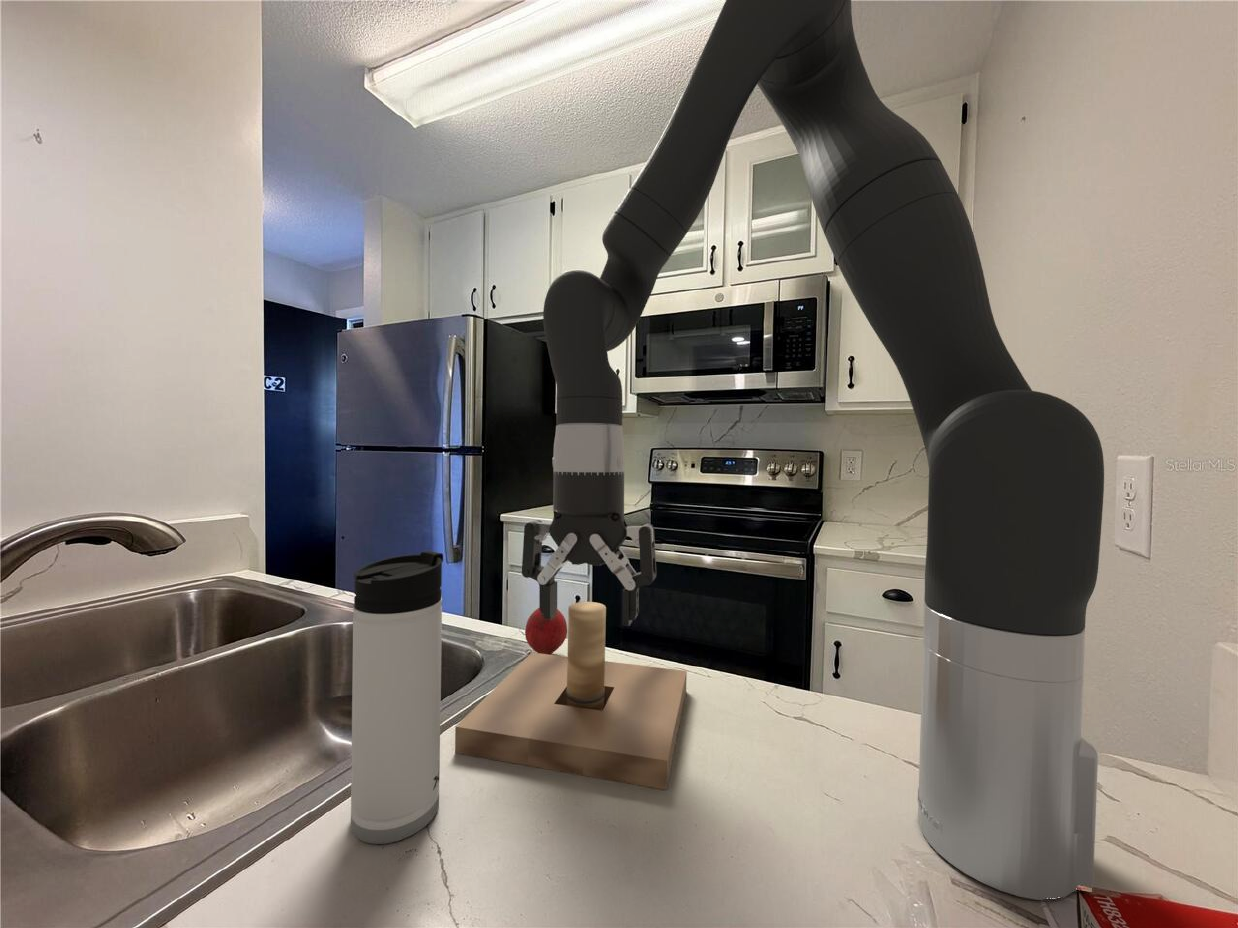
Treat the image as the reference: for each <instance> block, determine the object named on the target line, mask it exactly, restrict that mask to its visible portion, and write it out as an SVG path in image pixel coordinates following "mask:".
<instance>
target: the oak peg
mask: <svg viewBox="0 0 1238 928" xmlns="http://www.w3.org/2000/svg"><path fill="white" fill-rule="evenodd" d="M567 613H568V615H567V617H568V619H567V622H568V623H567V656H566V657H567V689H566V696H567V706H572V707H579V708H586V709H593V710H601V711H603V709H604V708H603V707H604V696H605V688H604V677H605V661H606V628H607V627H606V626H607V625H606V621H607V619H606V618H607V617H606V616H607V607H606V605H605V604H603V603H600V602H594V601H580V602H574V603H571V604H570V605H568V611H567Z"/></svg>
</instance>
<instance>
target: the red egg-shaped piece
mask: <svg viewBox="0 0 1238 928" xmlns="http://www.w3.org/2000/svg"><path fill="white" fill-rule="evenodd" d="M524 634H525V635H524V636H525V640H526V642H527V645H528V646H529V647H530V648H532V649H531V650H533V651H534V653H540V654H548V655H553V653H555V652H556V651H557V650H559V649H560V647H561V646H562V645H563V644H564V642H565V640H566V639H567V637H568V623H567V620H566V617H565V616H564V614H563V613H562V611H560V610H559V609H558V608H557V615H556V616H555V617H554V618H553V619H552V620H548V619H544V614H543V613H541V612H540V609H539V607H538V608H537V609H535V610H534V611H532V612H531V614H530V615H529V617H528V619H527V622H526V625H525V631H524Z"/></svg>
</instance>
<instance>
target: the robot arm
mask: <svg viewBox="0 0 1238 928" xmlns="http://www.w3.org/2000/svg"><path fill="white" fill-rule="evenodd" d="M852 9H853V7H852V0H725V1H724V2H723V6H722V8H721V10H720V12H719V14H718V17H717V19H716V21H715V23H714V24H713V27H712V30H711V32H710V34H709V36H708V38H707V40H706V42H705V44H704V47H703V49H702V51H701V53H700V55H699V56H698V59H697V61H696V64H695V66H694V67H693V69H692V72H691V74H690V76H689V78H688V81H687V83H686V85H685V87H684V89H683V92H682V93H681V95H680V97H679V100H678V102H677V104H676V106H675V108H674V111H673V112H672V115H671V117H670V118H669V121H668V123H667V125H666V127H665V129H664V130H663V132H662V134H661V136H660V137H659V140H658V142H657V143H656V145H655V147H654V149H653V150H652V152H651V154H650V156H649V157H648V159H647V161H646V162H645V164H644V166H643V167H642V169H641V170H640V172H639V173H638V175H637V177H636V178H635V180H634V181H633V183H631V186H630V188H629V189H628V190H627V191H626V194H625V195H624V197H623V198H622V200H621V202H620V203H619V205H618V206H617V207H616V209H615V211H614V213H613V214H612V215H611V217H610V219H609V220H608V222H607V224H606V226H605V228H604V229H603V232H602V237H601V239H602V244H603V247H604V249H605V251H606V254H607V260H606V263H605V265H604V268H603V270H602V273H601V274H600V276H599V277H598V276H597V275H595V273H592V272H589V271H587V270H586V269H580V268H579V269H577V268H573V269H568V270H566V271H563V272H562V273H560V274H559V275H558V276H557V277H556V278H554V280H553V282H552V283H551V284H550V286H549V288H548V290H547V292H546V295H545V299H544V303H543V312H542V314H543V315H542V319H543V330H544V336H545V340H546V347H547V350H548V351H547V352H548V355H549V360H550V366H551V369H552V373H553V377H554V379H555V380H554V381H555V383H556V384H555V385H556V395H555V396H556V397H555V399H556V402H555V403H556V408H555V409H556V411H555V412H556V414H555V415H556V418H555V419H556V420H555V421H556V422H555V423H556V425H555V436H554V442H553V457H552V464H551V465H552V468H553V481H552V485H553V487H552V488H553V489H552V490H553V491H552V492H553V494H552V495H553V499H552V500H553V503H552V504H553V505H552V508H553V509H552V511H553V518H552V521H551V522H543V521H542V520H540V519H536V520H532V521H530V522H529V521H528V522H527V523H525V525H524V529H523V545H522V548H523V549H522V559H521V560H522V561H521V574H522V577H524V578H525V579H528V578H530V579H532V580H535V581H536V582H537V583H538V585H539V587H538V589H539V594H538V596H539V598H538V599H539V604H538V605H539V606H538V608H539V609H540V612H541V613H543V614H544V619H548V620H552V619H553V618H554V617H555V616H556V615H557V609H558V580H555V578H556V577H557V576H558V574H559V572H561V570H562V569H563V567H564V566H565V565H566V564H567V563H568V562H569V563H571V565H574V566H575V565H576V566H577V565H584V564H587V565H590V566H595V567H601V566H602V565H604V564H605V565H607V568H608V569H609V570H610V572H611V573H612V574H614V575H615V576H616V577H617V579H618V580H619V582H620V583H621V584H622V586H623V587H624V588H623V589H622V590H621V591H622V593H621V594H622V596H621V600H622V601H621V604H622V605H621V606H622V607H621V611H622V612H621V613H622V615H621V621H622V622H621V624H622V626H626V627H630V626H631V624H632V623H633V621H635V620H636V618H637V617H638V614H639V611H640V609H639V607H640V606H639V605H640V601H639V599H640V596H639V594H640V588H641V587H644V586H650V585H651V584H653V582H654V581H655V579H656V578H657V558H656V543H655V542H656V541H655V540H656V539H655V538H656V537H655V527H654V525H653V524H651V523H646V524H644V525H628V524H627V523H626V519H625V442H624V434H623V388H622V387H623V386H622V381H621V378H620V376H619V375H618V374H617V372H616V371H615V370H614V369H613V368H612V366H611V364H610V361H609V356H608V352H611V351H613V350H614V349H616V348H618V347H619V346H620V345H622V344H623V343H624V342H625V341H626V340H627V339H628V338H629V336H630V335H631V334H632V332H633V331H634V330H635V328H636V326H637V324H638V323H639V321H640V319H641V317H642V314H644V313H643V312H644V310H645V308H646V306H647V303H648V301H649V299H650V298H651V294H652V293H653V289H654V288H655V285H656V281H657V279H658V276H659V274H660V272H661V270H662V269H663V267H664V266H665V265H666V263H667V262H668V261H669V259H670V257H672V256H673V254H674V252H675V251H676V250H677V248H678V247H679V245H680V244H681V243H682V241H683V239H684V238H685V236H686V235H687V234H688V233H689V231H690V229H691V228H692V227H693V225H694V223H695V222H696V220H697V218H698V216H699V215H700V214H701V211H702V210H703V208H704V206H705V204H706V201H707V199H708V196H709V194H710V192H711V190H712V187H713V185H714V183H715V180H716V177H717V175H718V172H719V169H720V167H721V164H722V160H723V157H724V155H725V152H726V151H727V146H728V144H729V142H730V139H731V137H732V135H733V132H734V129H735V127H736V124H737V122H738V120H739V118H740V116H741V114H742V112H743V110H744V108H745V106H746V104H747V102H748V101H749V99H750V97H751V95H752V93H754V90H755V88H756V86H757V87H758V88H759V90H760V91H761V93H762V94H763V96H764V97H765V98H766V100H767V102H768V103H769V105H770V107H771V108H772V110H773V111H774V112H775V114H776V116H777V118H778V120H779V121H780V122H781V124H782V126H783V127H784V129H785V130H786V133H788V136H789V138H790V139H791V141H792V143H793V145H794V148H795V149H796V151H797V154H798V156H799V160H800V162H801V165H802V169H803V173H804V178H805V180H806V181H805V182H806V184H807V189H808V191H809V195H810V198H811V202H812V204H813V207H814V209H815V212H816V215H817V218H818V220H819V224H820V226H821V229H822V231H823V235H824V237H825V239H826V241H827V244H828V246H829V248H830V250H831V253H832V255H833V258H834V259H835V262H836V263H837V266H838V267H839V270H840V272H841V274H842V276H843V279H845V280H844V281H845V282H846V283H847V285H848V288H849V290H850V292H851V293H852V295H853V297H854V298H855V301H856V303H857V304H858V306H859V308H860V309H861V311H862V314H863V315H864V317H865V318H866V319H867V322H869V324H870V326H871V328H872V330H873V331H874V333H875V334H876V336H877V337H878V339H879V341H880V343H881V345H883V347H884V348H885V350H886V351H887V354H888V355H889V357H890V359H892V361H893V363H894V365H895V367H896V369H897V371H898V374H899V375H900V377H901V379H902V382H903V385H904V388H905V390H906V393H907V395H908V398H909V400H910V404H911V407H912V410H913V413H914V416H915V419H916V422H917V426H918V428H919V433H920V436H921V438H922V442H923V443H922V444H923V446H924V450H925V453H926V454H925V455H926V459H927V465H928V492H927V493H928V495H927V497H928V498H927V528H926V529H927V532H926V533H927V535H926V537H927V538H926V551H925V553H926V554H925V570H924V596H923V597H924V604H923V633H922V640H923V641H922V663H921V664H922V665H921V666H922V667H921V670H922V671H921V695H920V696H921V699H920V700H921V701H920V702H921V703H920V726H919V727H920V729H919V730H920V732H919V733H920V736H919V761H918V763H919V764H918V767H919V768H918V769H919V770H918V787H917V824H918V827H919V829H920V832H921V834H922V835H923V837H924V839H925V840H926V841H927V843H928V844H929V845H930V846H931V847H932V848H933V850H934V851H935V852H936V853H937V854H939V855H940V856H941V857H942V858H944V859H945V860H946V861H947V862H948V863H949V864H950V865H952V866H954V867H955V868H956V869H958V870H960V871H961V872H962V873H964V874H966V875H967V876H969V877H971V878H973V879H975V880H976V881H978V882H980V883H982V884H985V885H986V886H988V887H992V888H994V889H996V890H998V891H1000V892H1004V893H1007V894H1009V895H1012V896H1013V895H1014V896H1016V897H1020V898H1024V899H1029V900H1030V899H1031V900H1036V901H1044V900H1043V899H1047V898H1048V899H1050V898H1051V899H1052V898H1058V897H1060V899H1064V898H1065V897H1067V896H1068V895H1071V894H1072V893H1074V892H1077V891H1076V888H1077V886H1078V885H1081V886H1086V887H1089V888H1093V889H1094V875H1095V874H1094V873H1095V872H1094V871H1095V848H1096V847H1095V845H1096V841H1095V840H1096V825H1097V823H1096V822H1097V821H1096V819H1097V817H1096V816H1097V798H1098V797H1097V795H1098V794H1097V793H1098V792H1097V791H1098V771H1099V770H1098V768H1099V755H1098V752H1097V750H1096V748H1095V747H1094V746H1093V745H1092V744H1091V743H1090V742H1088V741H1087V740H1086V739H1085V738H1083V736H1082V728H1083V726H1082V725H1083V721H1082V720H1083V702H1084V701H1083V698H1084V668H1085V667H1084V664H1085V640H1086V639H1085V637H1086V636H1085V635H1086V630H1085V629H1086V614H1087V608H1088V604H1089V601H1090V599H1091V598H1092V595H1093V593H1094V590H1095V588H1096V585H1097V578H1098V574H1099V565H1100V563H1099V562H1100V550H1101V537H1102V536H1101V535H1102V523H1103V507H1104V494H1105V493H1104V491H1105V461H1104V452H1103V447H1102V443H1101V439H1100V437H1099V435H1098V432H1097V431H1096V428H1095V426H1094V425H1093V424H1092V422H1091V421H1090V419H1088V418H1087V416H1086V415H1085V413H1083V412H1082V411H1081V410H1079V409H1078V408H1077V407H1076V406H1075V405H1073V404H1071V403H1069V402H1067V401H1066V400H1064V399H1062V398H1059V397H1058V396H1054V395H1051V394H1049V393H1045V392H1042V391H1041V392H1040V391H1036V390H1033V389H1032V388H1031V386H1030V385H1029V383H1028V382H1027V380H1026V379H1025V378H1024V375H1023V373H1022V372H1021V370H1020V369H1019V367H1018V366H1017V363H1016V362H1015V360H1014V359H1013V357H1012V356H1011V354H1010V352H1009V351H1008V349H1007V346H1006V345H1005V343H1004V341H1003V339H1002V336H1001V334H1000V332H999V329H998V326H997V325H996V321H995V318H994V314H993V312H992V307H991V303H990V298H989V294H988V289H987V284H986V278H985V274H984V270H983V265H982V262H981V261H982V260H981V257H980V255H979V254H980V253H979V251H978V250H979V249H978V246H977V242H976V238H975V235H974V232H973V227H972V225H971V222H970V219H969V217H968V214H967V212H966V209H965V207H964V204H963V202H962V199H961V197H960V196H959V194H958V192H957V190H956V187H955V186H954V184H953V183H952V180H951V178H950V176H949V174H948V172H947V170H946V168H945V166H944V165H943V162H942V161H941V159H940V158H939V155H938V154H937V152H936V151H935V149H934V148H933V146H932V145H931V143H930V142H929V140H928V139H927V138H926V137H925V136H924V135H923V134H922V133H921V132H920V131H919V130H918V129H917V128H915V126H913V125H912V124H911V123H909V121H906V120H905V119H904V118H902V117H901V116H899V115H898V114H896V113H895V112H894V111H893V110H891V109H890V108H889V107H888V106H886V105H885V103H883V101H882V100H881V99H880V98H879V96H878V95H877V92H876V91H875V89H874V87H873V85H872V83H871V79H870V78H869V76H868V73H867V70H866V68H865V65H864V63H863V60H862V57H861V54H860V51H859V47H858V44H857V41H856V37H855V31H854V27H853V24H854V23H853V17H852V16H853V14H852V13H853V12H852ZM548 535H550V538H552V540H553V542H554V543H555V544H556V547H557V549H556V550H555V551H554V552H553V554H552V556H551V557H550V558H549V559H548V560H547V562H546V565H544V566H543V565H542V553H543V542H544V541H546V540H547V538H548ZM628 537H629V538H631V540H632V543H633V545H634V546H635V547H637V548H639V561H640V562H639V563H640V564H639V565H640V572H637V571H636V570H635V569H634V568H633V565H631V563H630V560H629V558H628V557H627V555H626V554H625V553H624V551H623V550H622V548H621V546H622V545H623V543H624V542H625V541H626V539H627V538H628ZM1061 897H1063V898H1061Z"/></svg>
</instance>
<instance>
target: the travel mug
mask: <svg viewBox="0 0 1238 928" xmlns="http://www.w3.org/2000/svg"><path fill="white" fill-rule="evenodd" d="M443 562H444V555H443V553H441V552H436V551H431V550H427V551H422V552H420V553H419V554H405V555H398V556H392V557H388V558H384V559H383V558H382V559H380V560H377V561H374V562H371V563H368V564H366V565H364V566H361V567H360V568H359V569H357V570H356V571H355V573H354V584H353V585H354V587H353V588H354V589H353V591H354V595H355V596H354V598H353V599H354V600H353V606H352V607H353V608H352V613H353V617H352V618H353V619H352V684H351V685H352V688H351V689H352V691H351V693H352V694H351V695H352V697H351V698H352V699H351V700H352V701H351V706H352V707H351V765H350V766H351V777H350V778H351V781H350V783H351V785H350V805H351V806H350V829H351V831H352V834H353V835H354V836H355V837H356V838H357V839H359V840H360V841H362V842H364V843H367V844H375V845H376V844H377V845H380V844H381V845H382V844H383V845H384V844H391V843H396V842H398V841H402V840H404V839H406V838H409V837H411V836H412V835H415V834H416V833H418V832H419V831H421V830H423V828H425V827H426V826H427V825H428V824H429V823H430V822H431V821H432V820H433V819H434V816H436V814H437V812H438V809H439V806H440V779H441V778H440V771H441V769H440V768H441V760H440V759H441V711H442V710H441V703H442V702H441V698H442V693H441V692H442V639H443V638H442V637H443V636H442V632H443V631H442V630H443V626H442V625H443V623H442V621H443V607H442V605H443V597H442V589H441V587H442V584H443V582H442V581H443V580H442V577H443V575H442V574H443Z"/></svg>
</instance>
